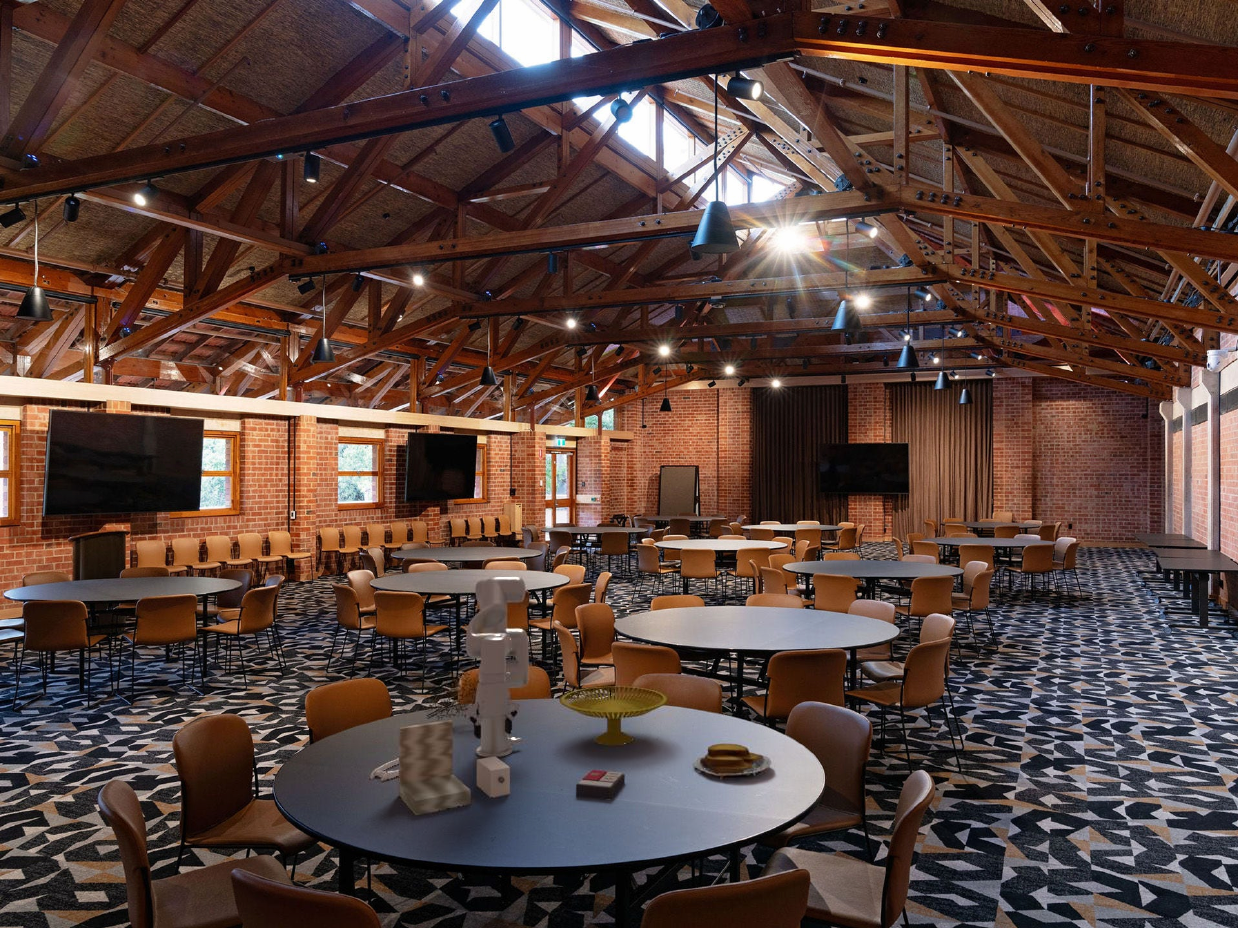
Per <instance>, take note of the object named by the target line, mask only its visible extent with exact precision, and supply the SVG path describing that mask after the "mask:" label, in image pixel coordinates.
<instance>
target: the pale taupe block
mask: <svg viewBox="0 0 1238 928" xmlns="http://www.w3.org/2000/svg"><path fill="white" fill-rule="evenodd" d="M476 787H478V788H479V789H480V788H481V789H480V790H481V791H482V790H483V791H482V792H483V793H485V794H486V795H487V796H488V797H489V798H491V797H493V798H497V797H502V796H506V795H511V766H509V765H507V764H506V763H505V762H504V761H502V760H501V759H499V757H495V756H494V757H483V758H479V759H478V758H477V759H476Z"/></svg>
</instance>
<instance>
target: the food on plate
mask: <svg viewBox="0 0 1238 928" xmlns="http://www.w3.org/2000/svg"><path fill="white" fill-rule="evenodd" d="M771 764H772V761H771V759H770V757H768V756H766V755H762V754H759V753H755V752H750V750H749V748H748V747H746V746H743V745H741V744H736V743H735V744H734V743H717V744H712V745H710V746H708V747H707V754H705V755H704V756H702V757H699V758H698V759H697V760H695V761H694V762H693V765H692V766H693V767H694V768H697V770H700V771H702V772H705V773H706V774H710V775H714V776H715V777H718V776H719V777H720V778H719V780H720V781H723V780H724V779H723V778H724V777H725V776H726V777H728V776H729V777H730V776H732V777H733V776H741V775H742V776H745V775H746V776H750V775H751V774H753V777H755V776H756V774H758V773H759V772H763V771H767V770H768V769H769V768H770V766H771ZM704 768H706V769H704ZM708 768H709V769H708ZM707 769H708V770H707Z"/></svg>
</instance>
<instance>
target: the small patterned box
mask: <svg viewBox="0 0 1238 928" xmlns="http://www.w3.org/2000/svg"><path fill="white" fill-rule="evenodd" d="M625 775H626V774H625V773H623V772H619V771H618V772H617V771H611V770H610V771H608V772H607V770H598V769H597V770H596V769H592V770H590V772H588V773H587V774H586V775H585V776H584V777H583V778H582V779H580V781H579V782H577V783H576V784H575V797H578V798H579V797H581V798H589V799H598V800H606V799H610V800H609V801H611V800H612V799H613V798H614V797H615V795H616V794H617V793H618V792H619V790H620V789H621V788H622V787H623V786H624V784H626V783H625V781H626V780H625V777H626V776H625Z"/></svg>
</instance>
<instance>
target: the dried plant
mask: <svg viewBox="0 0 1238 928" xmlns="http://www.w3.org/2000/svg"><path fill="white" fill-rule="evenodd" d="M476 661H477V658H474V659H472V660H471V666H470V668H472V667H473V666H474V667H475V664H474V663H476ZM529 665H530V666H531V665H532V664H530V663H529ZM468 671H470V672H468ZM471 673H472V670H470V669H468V670H467V672H466V673H465V672H463V671H461V673H459V675H462V676H463V677H465V678H466V679H463V677H462V676H457V678H456V680H455V679H454V683H453V682H452V683H451V686H450V685H449V684H448V681H446V682H445V687H444V686H443V685H441V686H442V688H443V689H442V692H441V693H440V692H439V690H440V689H438V690H437V693H438V694H436V693H434V698H433V699H435V700H433V704H428V707H426V708H425V709H424V710H425V711H424V713H427V710H428V709H430V710H428V712H430V711H432V712H430V713H429V714H426V715H425V716H426V719H427V720H429V719H431V718H433V717H435V719H437V722H440V719H443V718H449V719H450V718H451V719H452V716H453V717H458V718H459V715H460V716H461V717H464V718H466V719H467V718H468V717H467V715H466V714H465V711H466V710H467V709H469V708H470V707H469V705H470V704H471V707H472V706H473V705H475V701H476V692H477V687H478V684H477V683H479V679H478V680H477V681H476V678H473V679H472V678H470V679H469V676H470V675H471ZM475 675H476V677H479V676H478V673H477V674H475ZM460 681H462V682H465V683H461V685H462V686H461V685H460V684H459V683H460ZM468 686H469V687H468ZM458 687H459V688H461V689H458ZM466 688H468V690H466ZM461 692H462V693H461ZM464 694H465V695H464ZM457 696H458V697H459V698H460V699H457V700H456V697H457ZM465 698H466V699H465ZM452 699H453V700H452ZM464 699H465V701H464ZM451 701H452V702H451ZM434 705H435V706H434ZM433 706H434V707H433ZM434 709H435V710H434ZM433 710H434V711H433ZM454 710H455V713H453V711H454ZM449 712H450V714H449ZM463 712H464V713H463ZM443 713H444V714H443ZM460 713H461V714H460ZM473 714H474V715H476V714H475V712H473ZM473 717H474V716H473ZM475 717H476V716H475ZM475 717H474V718H475Z"/></svg>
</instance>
